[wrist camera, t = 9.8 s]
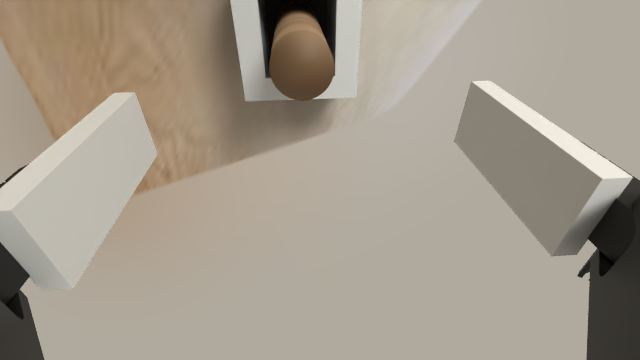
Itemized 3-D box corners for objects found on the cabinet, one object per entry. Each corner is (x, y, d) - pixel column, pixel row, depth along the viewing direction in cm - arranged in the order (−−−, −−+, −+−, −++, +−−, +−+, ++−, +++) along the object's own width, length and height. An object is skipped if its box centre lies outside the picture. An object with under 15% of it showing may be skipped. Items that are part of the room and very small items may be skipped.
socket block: (238, -37, 28) (225, -34, 22) (349, -38, 29) (365, -36, 23) (252, 75, 34) (245, 101, 28) (344, 72, 35) (356, 97, 29)
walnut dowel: (275, 1, 30) (265, 34, 18) (316, 0, 30) (335, 33, 18) (278, 45, 32) (272, 101, 20) (317, 44, 33) (333, 99, 21)
